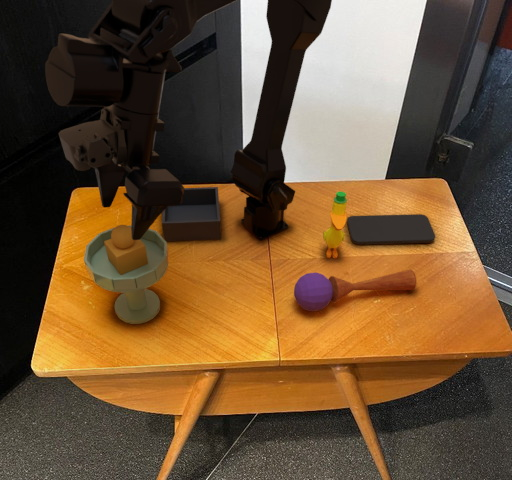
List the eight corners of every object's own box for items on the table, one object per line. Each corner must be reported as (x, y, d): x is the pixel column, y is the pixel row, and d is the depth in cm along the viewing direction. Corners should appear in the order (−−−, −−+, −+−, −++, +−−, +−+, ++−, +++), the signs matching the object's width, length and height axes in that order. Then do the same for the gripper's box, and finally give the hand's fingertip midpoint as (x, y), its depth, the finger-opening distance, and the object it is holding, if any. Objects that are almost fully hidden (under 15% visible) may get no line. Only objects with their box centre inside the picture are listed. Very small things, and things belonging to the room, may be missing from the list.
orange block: (135, 248, 80) (129, 214, 76) (148, 263, 78) (142, 229, 74) (108, 259, 79) (99, 225, 74) (120, 275, 77) (112, 241, 72)
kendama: (425, 283, 85) (305, 299, 80) (410, 305, 90) (296, 320, 85) (411, 253, 88) (293, 266, 83) (397, 276, 93) (286, 289, 88)
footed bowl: (152, 272, 91) (143, 216, 82) (187, 314, 85) (181, 258, 76) (88, 300, 87) (71, 243, 78) (121, 346, 81) (106, 290, 72)
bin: (218, 204, 103) (217, 186, 100) (221, 239, 97) (220, 221, 94) (165, 206, 102) (162, 188, 99) (164, 241, 96) (161, 223, 93)
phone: (346, 215, 101) (426, 213, 101) (345, 219, 101) (425, 217, 102) (353, 242, 96) (437, 239, 96) (352, 245, 96) (435, 243, 97)
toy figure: (342, 268, 93) (354, 210, 83) (321, 267, 93) (330, 209, 83) (340, 242, 97) (351, 184, 88) (320, 241, 97) (328, 183, 88)
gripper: (40, 73, 66) (36, 193, 75) (105, 133, 56) (92, 264, 65) (124, 82, 73) (112, 191, 82) (197, 137, 62) (173, 255, 71)
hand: (120, 222), depth 75 cm, fingers open, 9 cm apart
